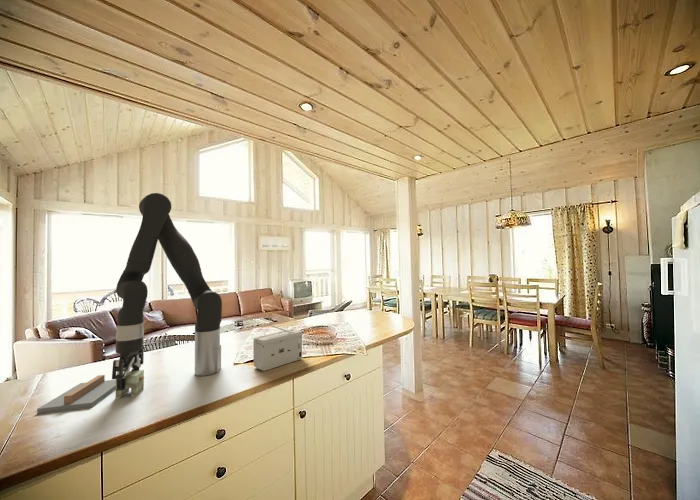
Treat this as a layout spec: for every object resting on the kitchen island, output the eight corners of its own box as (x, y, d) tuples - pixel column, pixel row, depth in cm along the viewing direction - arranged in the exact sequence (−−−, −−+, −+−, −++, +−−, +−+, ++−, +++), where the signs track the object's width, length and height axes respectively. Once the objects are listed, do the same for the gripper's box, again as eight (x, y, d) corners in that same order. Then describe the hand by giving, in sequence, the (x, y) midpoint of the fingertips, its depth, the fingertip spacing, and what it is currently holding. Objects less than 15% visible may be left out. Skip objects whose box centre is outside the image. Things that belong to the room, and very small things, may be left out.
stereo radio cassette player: (294, 355, 131) (293, 313, 131) (304, 359, 125) (304, 315, 126) (252, 368, 116) (252, 320, 117) (261, 373, 110) (261, 323, 111)
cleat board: (124, 382, 104) (124, 372, 104) (91, 407, 86) (92, 394, 86) (80, 387, 100) (80, 376, 100) (37, 413, 83) (37, 400, 83)
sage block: (146, 389, 98) (147, 369, 98) (139, 396, 93) (139, 375, 93) (124, 391, 96) (124, 371, 96) (115, 398, 91) (115, 377, 92)
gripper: (130, 341, 89) (129, 392, 88) (152, 331, 103) (150, 375, 102) (104, 343, 88) (101, 395, 87) (129, 332, 101) (127, 377, 101)
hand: (128, 384), depth 94 cm, fingers open, 8 cm apart
